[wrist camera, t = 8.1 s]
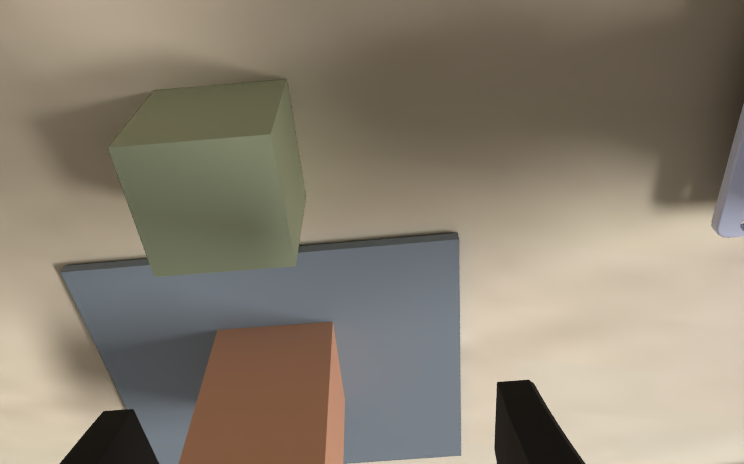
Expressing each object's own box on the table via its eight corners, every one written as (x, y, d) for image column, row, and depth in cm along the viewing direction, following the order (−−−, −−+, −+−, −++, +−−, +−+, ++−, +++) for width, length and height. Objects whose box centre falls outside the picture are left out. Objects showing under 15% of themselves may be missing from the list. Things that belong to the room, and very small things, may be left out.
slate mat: (457, 232, 21) (458, 239, 20) (459, 448, 27) (460, 455, 27) (64, 265, 21) (60, 272, 21) (161, 468, 28) (158, 476, 28)
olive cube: (286, 78, 18) (270, 134, 14) (306, 194, 20) (295, 266, 17) (154, 89, 18) (107, 147, 14) (188, 203, 20) (154, 277, 17)
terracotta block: (332, 321, 22) (324, 476, 17) (344, 399, 25) (340, 557, 19) (217, 329, 22) (172, 485, 17) (240, 406, 25) (207, 565, 20)
